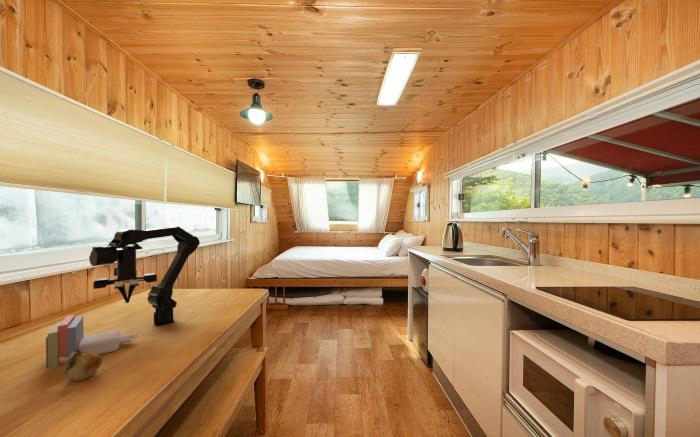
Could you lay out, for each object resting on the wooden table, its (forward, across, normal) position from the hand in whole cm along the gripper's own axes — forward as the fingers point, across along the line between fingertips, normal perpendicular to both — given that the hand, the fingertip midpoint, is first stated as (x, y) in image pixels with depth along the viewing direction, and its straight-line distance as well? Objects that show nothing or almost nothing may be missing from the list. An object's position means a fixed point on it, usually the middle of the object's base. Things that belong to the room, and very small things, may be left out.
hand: (127, 302), depth 107 cm
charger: (+12, +4, +11) cm, 17 cm away
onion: (+12, +8, +31) cm, 34 cm away
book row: (+12, +15, +12) cm, 22 cm away
